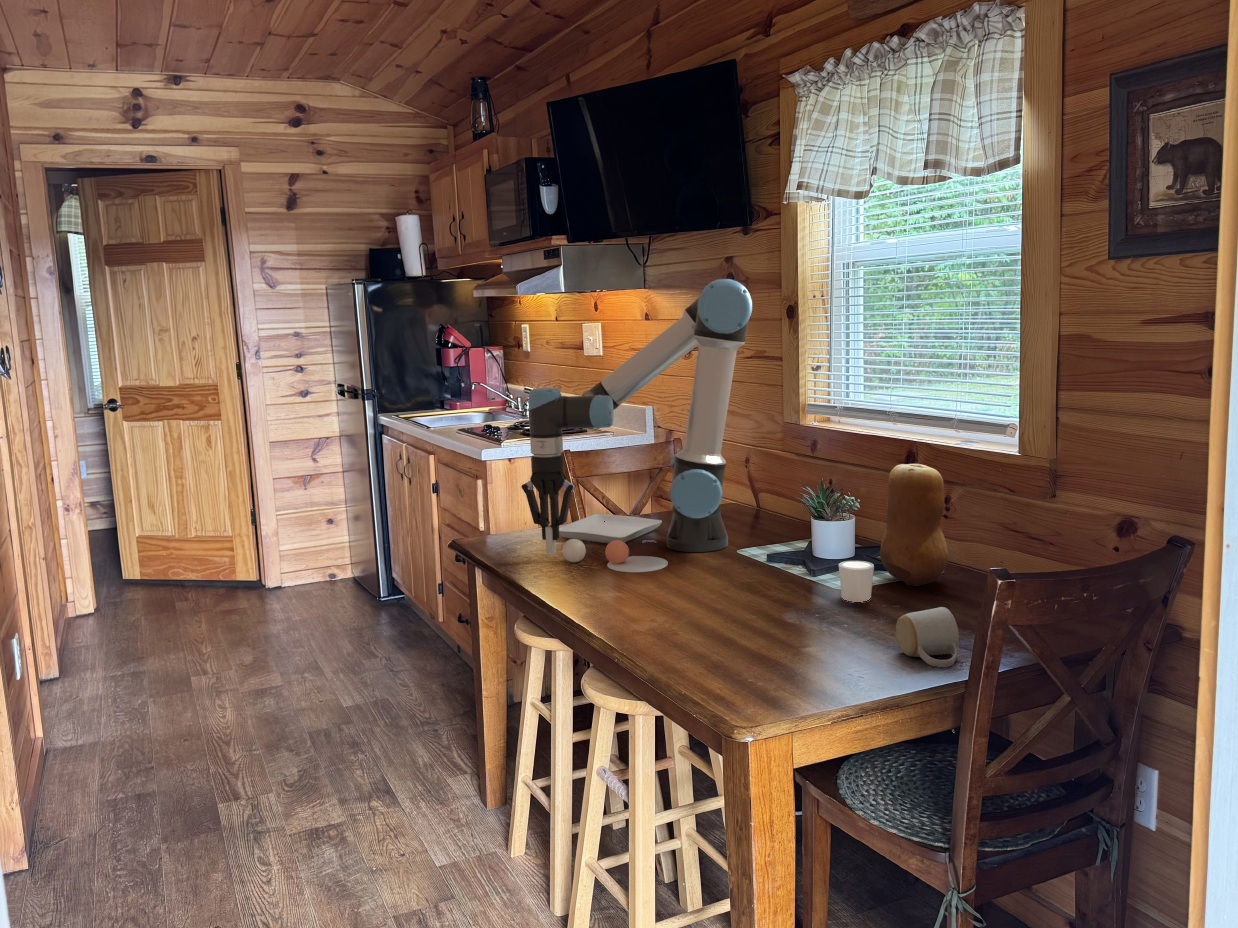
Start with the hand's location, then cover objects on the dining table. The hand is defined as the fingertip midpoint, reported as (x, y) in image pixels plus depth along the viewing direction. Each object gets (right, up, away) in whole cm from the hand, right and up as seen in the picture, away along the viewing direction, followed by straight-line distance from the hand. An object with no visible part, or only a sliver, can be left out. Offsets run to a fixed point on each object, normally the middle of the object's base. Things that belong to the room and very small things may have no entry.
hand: (551, 553), depth 236 cm
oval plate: (+20, -2, -5) cm, 21 cm away
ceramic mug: (+68, -11, -71) cm, 98 cm away
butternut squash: (+77, -4, -28) cm, 82 cm away
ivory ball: (+5, +1, -2) cm, 6 cm away
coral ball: (+16, +1, -5) cm, 16 cm away
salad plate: (+14, +2, +25) cm, 29 cm away
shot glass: (+63, -6, -37) cm, 74 cm away
